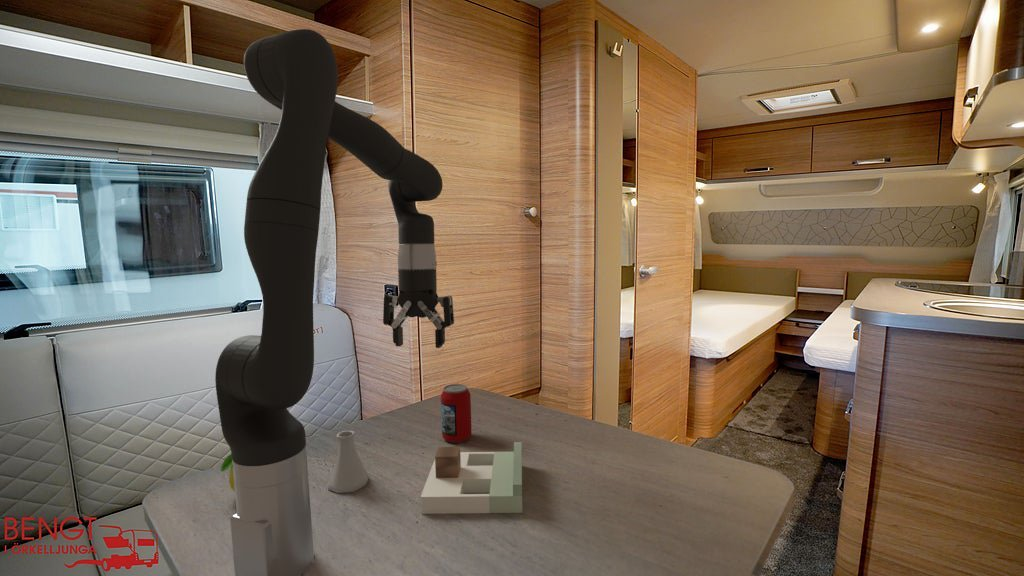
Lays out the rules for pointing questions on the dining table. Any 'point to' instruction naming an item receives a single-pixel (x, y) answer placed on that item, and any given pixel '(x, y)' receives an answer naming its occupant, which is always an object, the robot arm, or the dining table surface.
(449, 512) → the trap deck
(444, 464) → the walnut block
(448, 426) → the beverage can
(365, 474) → the flask
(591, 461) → the dining table surface
